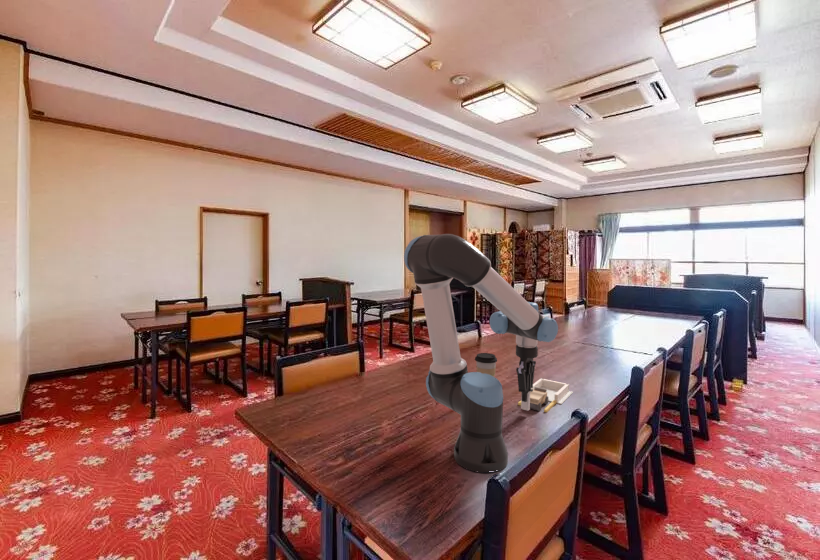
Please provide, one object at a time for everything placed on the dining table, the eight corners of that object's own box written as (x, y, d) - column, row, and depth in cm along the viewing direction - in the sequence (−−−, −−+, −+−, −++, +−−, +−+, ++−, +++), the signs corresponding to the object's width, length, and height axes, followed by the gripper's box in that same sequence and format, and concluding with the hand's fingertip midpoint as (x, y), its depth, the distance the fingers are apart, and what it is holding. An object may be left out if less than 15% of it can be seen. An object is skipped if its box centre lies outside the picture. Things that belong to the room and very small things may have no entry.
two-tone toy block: (538, 412, 139) (538, 397, 138) (522, 408, 142) (523, 394, 142) (548, 403, 147) (548, 389, 147) (533, 399, 151) (533, 386, 151)
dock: (552, 414, 137) (552, 404, 137) (513, 403, 146) (513, 395, 146) (572, 392, 158) (573, 384, 158) (537, 384, 167) (537, 377, 167)
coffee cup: (496, 394, 156) (497, 359, 155) (473, 392, 158) (474, 357, 157) (496, 386, 165) (497, 353, 164) (474, 384, 167) (475, 351, 166)
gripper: (530, 350, 127) (528, 418, 129) (543, 343, 137) (542, 405, 139) (509, 347, 132) (508, 412, 133) (523, 340, 142) (522, 400, 144)
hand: (525, 409), depth 136 cm, fingers closed
